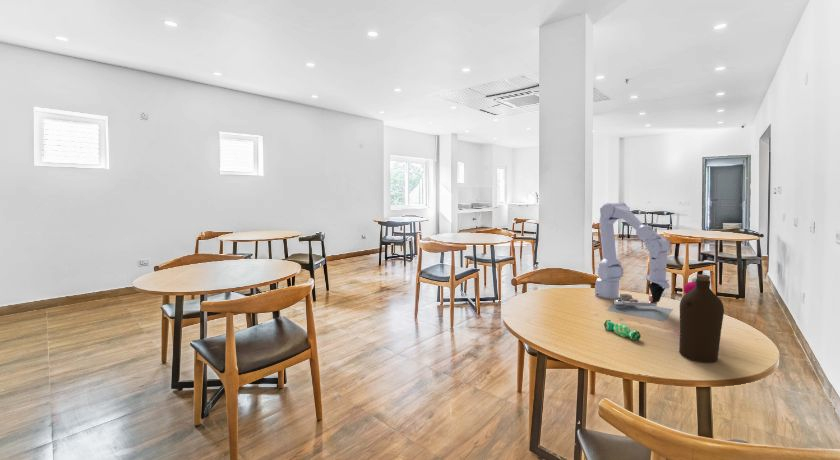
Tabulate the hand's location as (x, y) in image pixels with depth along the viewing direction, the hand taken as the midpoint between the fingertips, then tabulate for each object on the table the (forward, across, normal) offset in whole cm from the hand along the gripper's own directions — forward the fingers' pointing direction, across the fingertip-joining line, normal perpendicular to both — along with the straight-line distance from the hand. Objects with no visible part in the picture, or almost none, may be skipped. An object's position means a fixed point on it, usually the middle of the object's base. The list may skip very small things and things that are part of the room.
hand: (656, 301), depth 151 cm
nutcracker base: (+5, 0, +6) cm, 8 cm away
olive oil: (+5, -39, +6) cm, 40 cm away
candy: (+5, -24, +22) cm, 33 cm away
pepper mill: (+5, -22, -2) cm, 22 cm away
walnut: (+4, +7, +7) cm, 11 cm away
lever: (+2, +2, +7) cm, 8 cm away
